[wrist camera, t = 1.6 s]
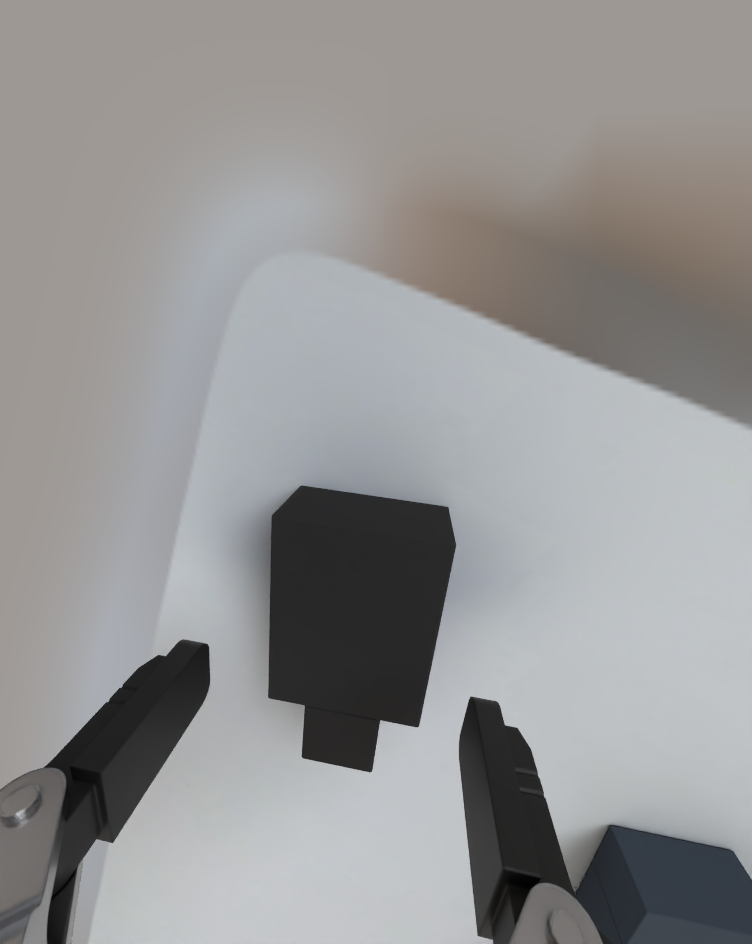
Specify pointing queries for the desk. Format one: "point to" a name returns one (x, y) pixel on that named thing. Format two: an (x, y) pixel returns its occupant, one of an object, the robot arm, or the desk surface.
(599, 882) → the pad mat
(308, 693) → the pad tile
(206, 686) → the robot arm
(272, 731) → the desk surface
